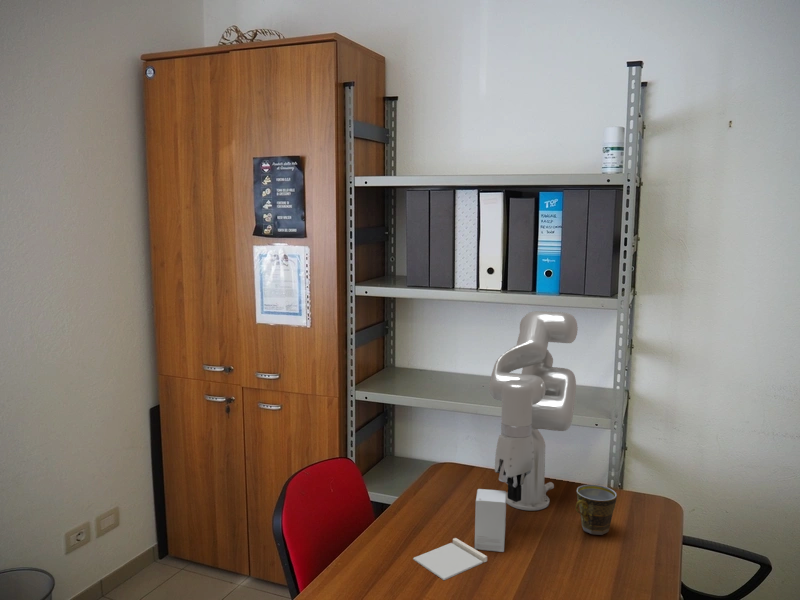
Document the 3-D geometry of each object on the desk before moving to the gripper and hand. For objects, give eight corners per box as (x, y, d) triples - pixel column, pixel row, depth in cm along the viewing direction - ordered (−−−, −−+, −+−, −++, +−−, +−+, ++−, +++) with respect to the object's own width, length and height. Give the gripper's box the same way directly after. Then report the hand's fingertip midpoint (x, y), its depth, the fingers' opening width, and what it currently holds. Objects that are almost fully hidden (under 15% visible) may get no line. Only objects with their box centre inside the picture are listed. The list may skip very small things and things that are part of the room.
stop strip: (455, 542, 156) (455, 537, 156) (487, 561, 147) (487, 556, 147) (452, 543, 155) (452, 539, 155) (484, 562, 147) (484, 557, 146)
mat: (451, 544, 155) (451, 542, 155) (482, 563, 146) (482, 561, 146) (413, 559, 148) (413, 557, 148) (443, 580, 139) (443, 578, 139)
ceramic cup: (591, 516, 170) (592, 481, 169) (623, 531, 162) (624, 494, 161) (559, 529, 163) (560, 493, 161) (591, 545, 155) (593, 507, 153)
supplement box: (504, 552, 151) (505, 502, 150) (473, 549, 153) (474, 500, 151) (505, 538, 158) (506, 490, 157) (476, 535, 160) (477, 487, 158)
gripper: (524, 420, 165) (522, 487, 167) (484, 431, 156) (482, 502, 158) (547, 427, 159) (545, 497, 161) (506, 439, 150) (504, 512, 152)
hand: (514, 499), depth 159 cm, fingers closed
